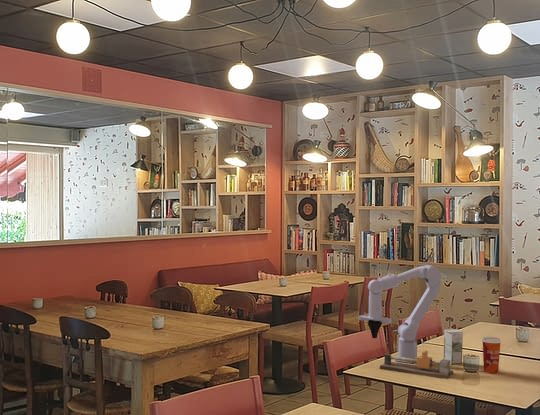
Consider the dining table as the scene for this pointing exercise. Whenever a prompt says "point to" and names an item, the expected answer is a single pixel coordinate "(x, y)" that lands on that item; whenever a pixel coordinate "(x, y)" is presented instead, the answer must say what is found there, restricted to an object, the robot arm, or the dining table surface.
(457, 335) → the syrup box
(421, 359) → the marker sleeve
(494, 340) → the paper cup
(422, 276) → the robot arm
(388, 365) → the grey slider rail
